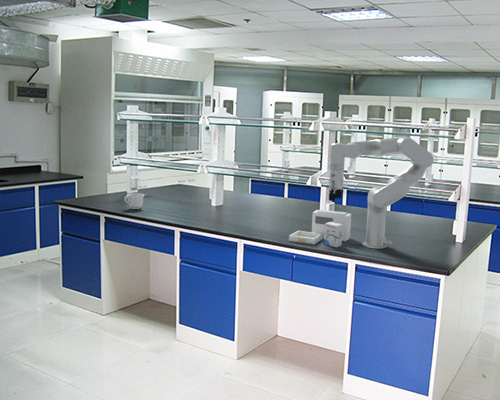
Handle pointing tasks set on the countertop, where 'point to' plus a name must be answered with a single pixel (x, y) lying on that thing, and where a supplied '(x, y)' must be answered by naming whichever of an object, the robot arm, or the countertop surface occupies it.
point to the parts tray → (305, 237)
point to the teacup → (135, 200)
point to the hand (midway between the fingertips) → (334, 199)
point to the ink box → (333, 234)
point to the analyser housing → (331, 216)
